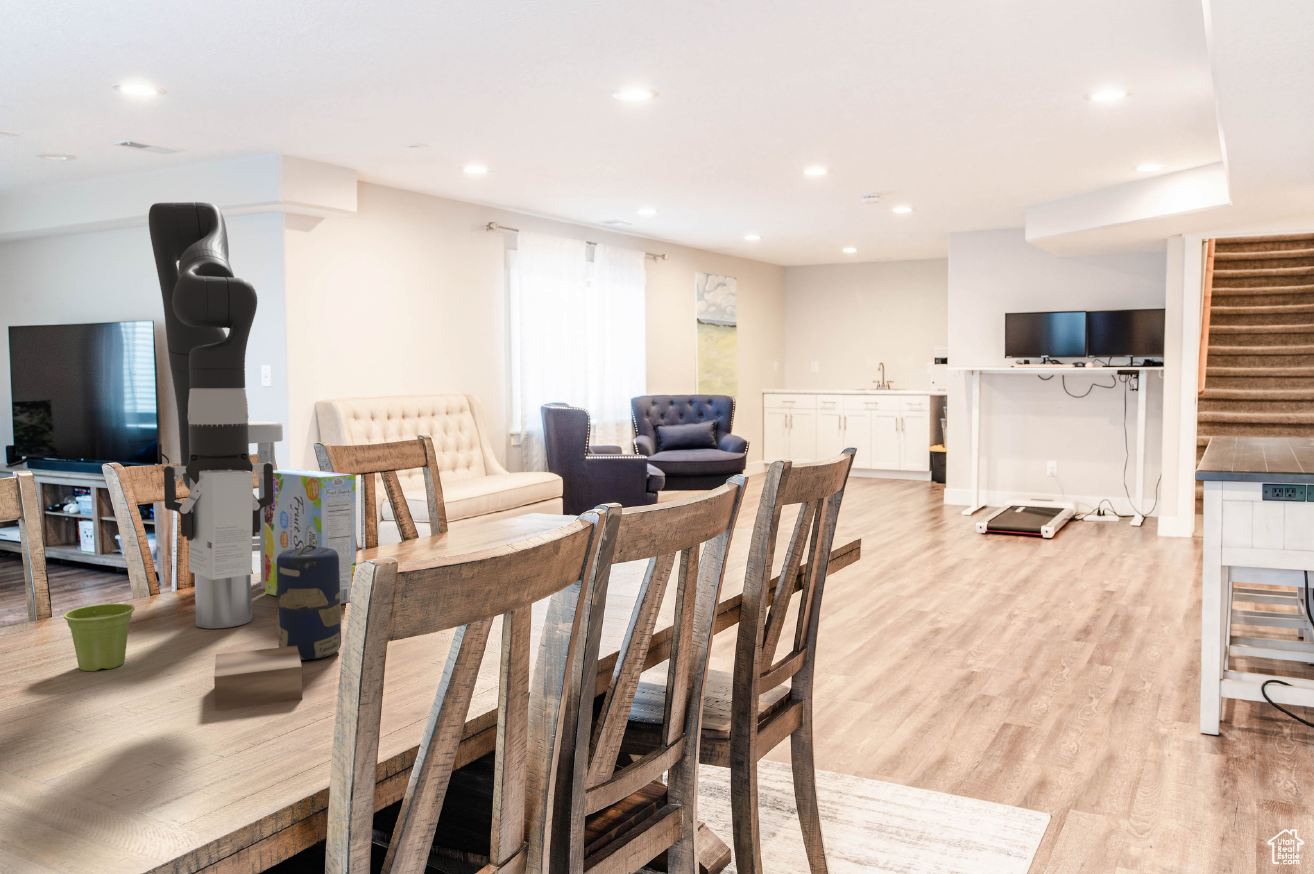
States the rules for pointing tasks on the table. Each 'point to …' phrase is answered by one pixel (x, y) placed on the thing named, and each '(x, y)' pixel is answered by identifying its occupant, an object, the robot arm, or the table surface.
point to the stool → (265, 437)
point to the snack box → (312, 520)
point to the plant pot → (100, 634)
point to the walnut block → (257, 677)
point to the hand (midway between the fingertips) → (221, 537)
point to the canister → (309, 601)
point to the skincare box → (222, 525)
